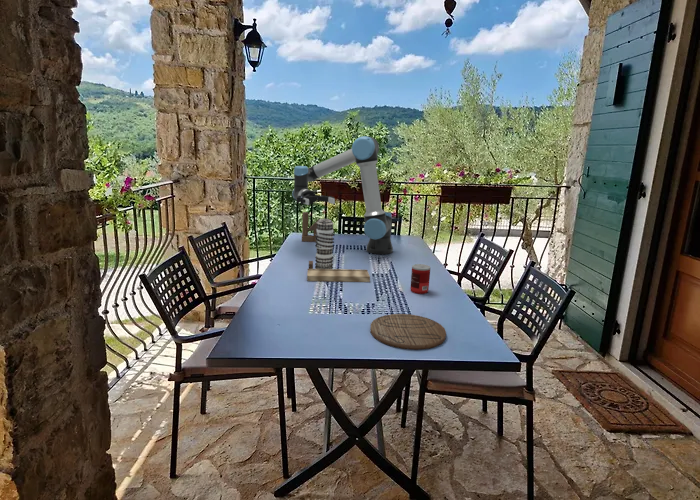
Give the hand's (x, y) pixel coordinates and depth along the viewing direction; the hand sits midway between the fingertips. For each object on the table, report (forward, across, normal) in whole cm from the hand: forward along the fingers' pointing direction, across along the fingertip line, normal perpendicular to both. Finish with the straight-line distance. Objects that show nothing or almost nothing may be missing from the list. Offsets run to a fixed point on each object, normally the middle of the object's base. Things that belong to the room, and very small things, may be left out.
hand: (321, 201), depth 217 cm
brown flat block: (+11, +10, -31) cm, 35 cm away
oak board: (+26, +2, -32) cm, 41 cm away
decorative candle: (+13, +4, -32) cm, 35 cm away
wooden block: (-48, -12, -31) cm, 59 cm away
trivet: (+88, +3, -33) cm, 94 cm away
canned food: (+53, -24, -32) cm, 67 cm away
